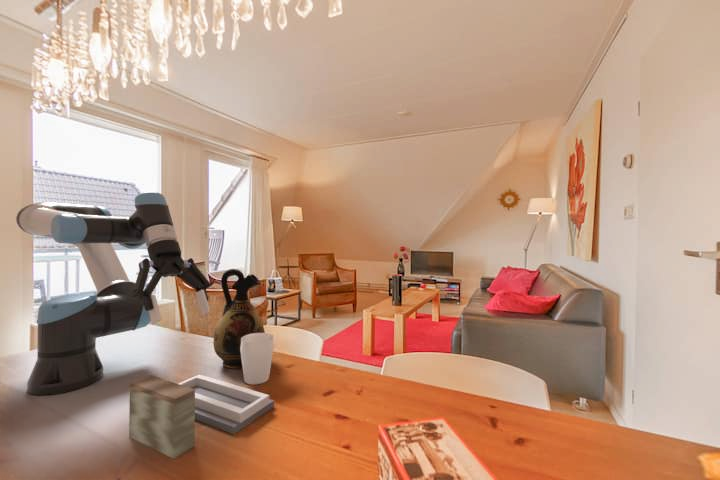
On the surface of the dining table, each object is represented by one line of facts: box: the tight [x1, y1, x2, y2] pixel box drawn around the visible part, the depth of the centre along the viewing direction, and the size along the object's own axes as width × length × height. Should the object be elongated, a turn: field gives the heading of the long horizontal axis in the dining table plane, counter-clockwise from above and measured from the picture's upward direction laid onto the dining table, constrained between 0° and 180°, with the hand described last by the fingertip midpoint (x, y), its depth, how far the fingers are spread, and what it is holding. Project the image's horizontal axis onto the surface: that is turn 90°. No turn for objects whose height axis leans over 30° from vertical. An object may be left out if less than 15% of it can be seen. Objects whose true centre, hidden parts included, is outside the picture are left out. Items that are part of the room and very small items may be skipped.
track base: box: [177, 374, 275, 435], centre depth 75 cm, size 24×12×4 cm, turn 64°
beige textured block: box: [128, 374, 196, 460], centre depth 62 cm, size 14×4×11 cm, turn 64°
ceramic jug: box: [212, 268, 266, 370], centre depth 101 cm, size 17×15×30 cm
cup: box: [240, 332, 275, 386], centre depth 90 cm, size 9×9×12 cm
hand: (183, 317), depth 82 cm, fingers open, 13 cm apart
